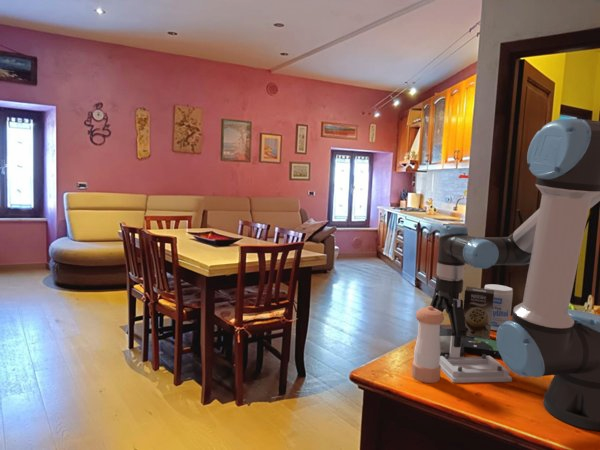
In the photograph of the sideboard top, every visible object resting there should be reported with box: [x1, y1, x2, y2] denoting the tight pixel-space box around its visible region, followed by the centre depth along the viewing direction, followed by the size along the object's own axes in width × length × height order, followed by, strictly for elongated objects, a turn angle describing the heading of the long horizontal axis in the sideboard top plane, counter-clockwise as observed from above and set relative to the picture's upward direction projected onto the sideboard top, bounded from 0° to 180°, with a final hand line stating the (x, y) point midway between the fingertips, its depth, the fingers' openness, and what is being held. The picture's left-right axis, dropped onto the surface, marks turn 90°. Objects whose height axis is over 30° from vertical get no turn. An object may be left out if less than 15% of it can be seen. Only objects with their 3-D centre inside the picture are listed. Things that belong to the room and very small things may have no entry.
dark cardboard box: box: [463, 285, 494, 339], centre depth 151 cm, size 9×6×16 cm
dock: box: [439, 354, 513, 384], centre depth 123 cm, size 12×16×3 cm
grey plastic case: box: [439, 324, 465, 357], centre depth 134 cm, size 4×10×9 cm, turn 96°
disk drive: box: [464, 336, 502, 360], centre depth 140 cm, size 10×3×15 cm
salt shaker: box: [411, 305, 445, 384], centre depth 119 cm, size 7×7×19 cm
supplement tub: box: [483, 283, 514, 332], centre depth 161 cm, size 10×10×15 cm
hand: (443, 347), depth 134 cm, fingers open, 13 cm apart
